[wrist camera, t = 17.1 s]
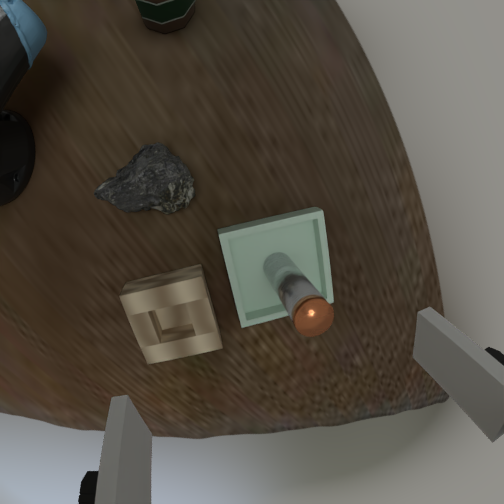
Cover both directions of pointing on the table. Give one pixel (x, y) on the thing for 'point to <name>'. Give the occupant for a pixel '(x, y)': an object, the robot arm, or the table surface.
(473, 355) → the robot arm
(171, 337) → the block
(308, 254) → the tray
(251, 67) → the table surface
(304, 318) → the pin
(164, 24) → the beer bottle
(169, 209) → the rock
